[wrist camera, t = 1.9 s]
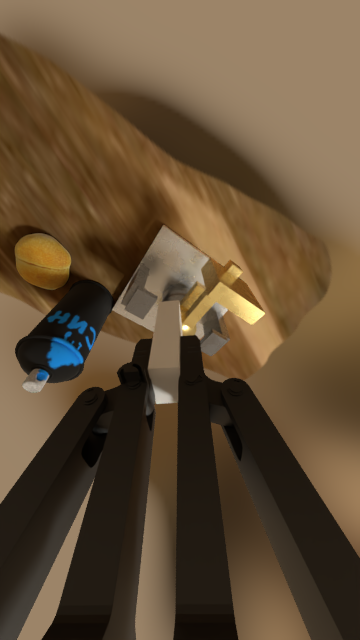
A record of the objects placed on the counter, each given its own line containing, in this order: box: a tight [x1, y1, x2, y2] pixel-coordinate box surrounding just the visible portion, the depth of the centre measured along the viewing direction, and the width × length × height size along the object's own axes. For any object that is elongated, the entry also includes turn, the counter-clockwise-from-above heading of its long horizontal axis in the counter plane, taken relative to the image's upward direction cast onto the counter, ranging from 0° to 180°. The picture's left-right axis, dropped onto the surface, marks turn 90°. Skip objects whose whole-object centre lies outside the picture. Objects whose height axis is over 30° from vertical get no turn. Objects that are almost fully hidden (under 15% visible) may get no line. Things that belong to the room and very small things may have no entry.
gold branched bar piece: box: [151, 257, 265, 339], centre depth 29 cm, size 6×18×11 cm, turn 145°
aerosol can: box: [15, 280, 114, 393], centre depth 32 cm, size 8×8×20 cm
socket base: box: [112, 224, 230, 356], centre depth 36 cm, size 18×18×10 cm
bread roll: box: [15, 233, 71, 290], centre depth 34 cm, size 8×9×4 cm
